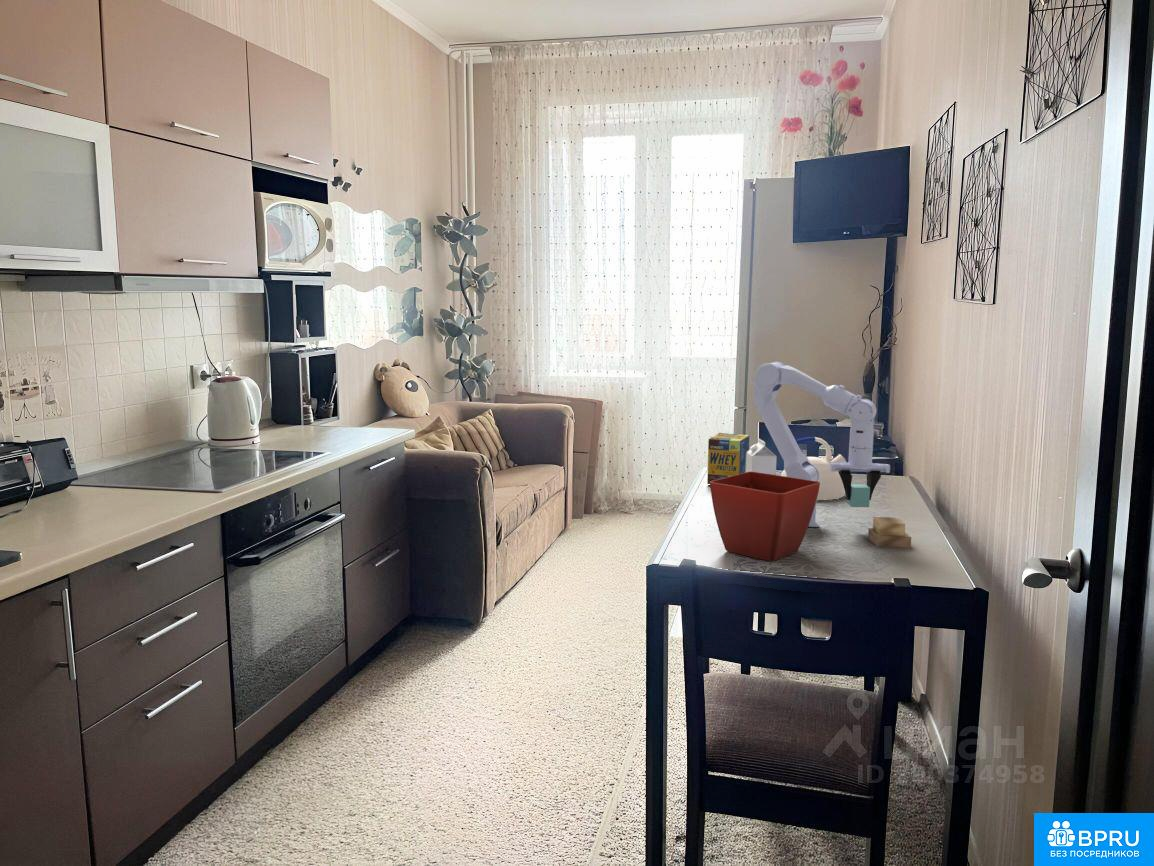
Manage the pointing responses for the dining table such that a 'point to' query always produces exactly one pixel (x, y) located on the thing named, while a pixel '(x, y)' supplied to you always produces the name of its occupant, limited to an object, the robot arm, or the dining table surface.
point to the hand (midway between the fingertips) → (858, 499)
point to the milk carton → (761, 459)
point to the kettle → (825, 472)
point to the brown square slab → (889, 539)
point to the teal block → (859, 495)
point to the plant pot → (763, 513)
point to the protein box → (727, 455)
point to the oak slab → (889, 526)
